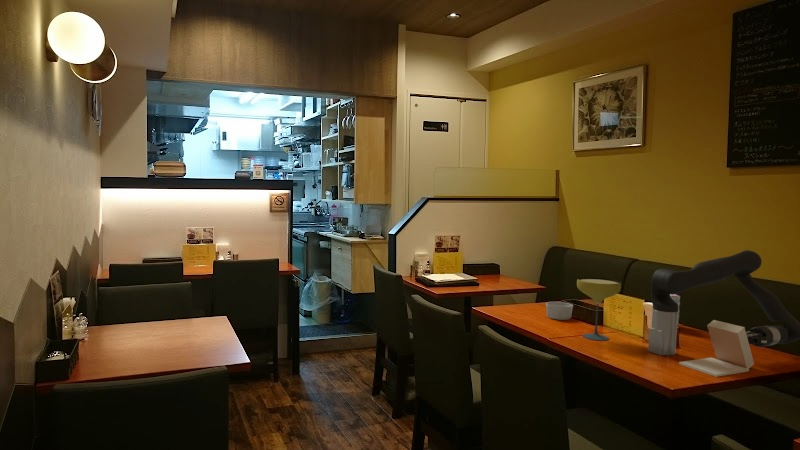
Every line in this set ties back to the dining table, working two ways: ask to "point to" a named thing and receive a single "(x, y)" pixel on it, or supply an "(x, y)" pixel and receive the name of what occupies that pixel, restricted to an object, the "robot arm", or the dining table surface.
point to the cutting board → (714, 367)
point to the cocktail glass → (598, 296)
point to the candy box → (677, 300)
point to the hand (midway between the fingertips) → (735, 339)
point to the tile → (730, 343)
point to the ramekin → (559, 310)
